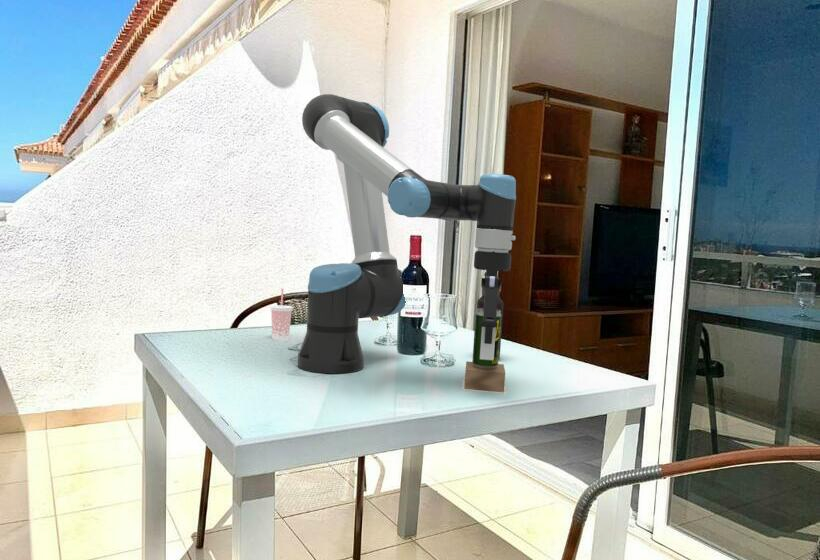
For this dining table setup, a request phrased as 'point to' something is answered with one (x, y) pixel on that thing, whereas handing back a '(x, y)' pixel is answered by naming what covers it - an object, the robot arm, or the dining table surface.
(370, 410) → the dining table surface
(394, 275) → the robot arm
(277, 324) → the beverage cup
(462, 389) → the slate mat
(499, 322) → the beer can
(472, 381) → the walnut block
